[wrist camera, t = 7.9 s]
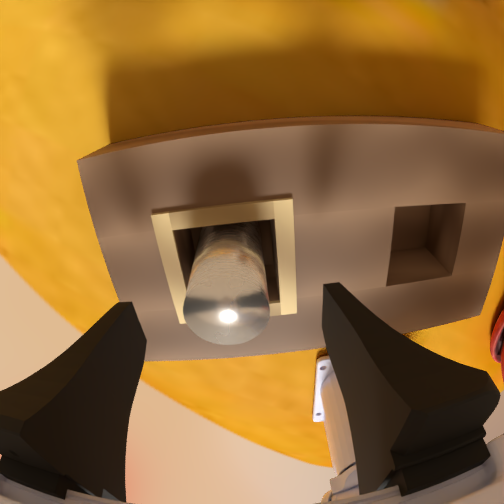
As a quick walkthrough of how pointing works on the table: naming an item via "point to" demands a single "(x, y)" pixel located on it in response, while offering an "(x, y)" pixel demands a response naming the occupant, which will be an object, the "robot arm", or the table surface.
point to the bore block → (304, 220)
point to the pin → (228, 285)
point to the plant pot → (498, 342)
